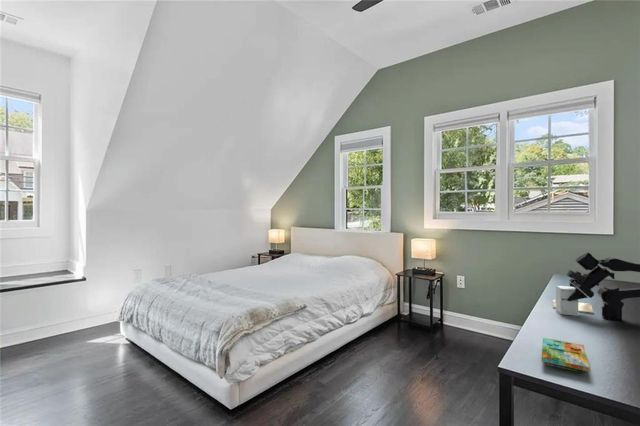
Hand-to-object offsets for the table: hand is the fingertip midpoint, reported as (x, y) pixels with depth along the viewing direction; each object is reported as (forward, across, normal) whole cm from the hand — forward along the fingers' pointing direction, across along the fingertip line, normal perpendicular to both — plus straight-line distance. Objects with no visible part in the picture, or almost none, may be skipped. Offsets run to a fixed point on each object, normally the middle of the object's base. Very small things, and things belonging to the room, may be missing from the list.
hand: (565, 298), depth 160 cm
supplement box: (+5, 0, +6) cm, 7 cm away
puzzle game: (+14, +63, -4) cm, 64 cm away
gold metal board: (+1, -14, +9) cm, 17 cm away
